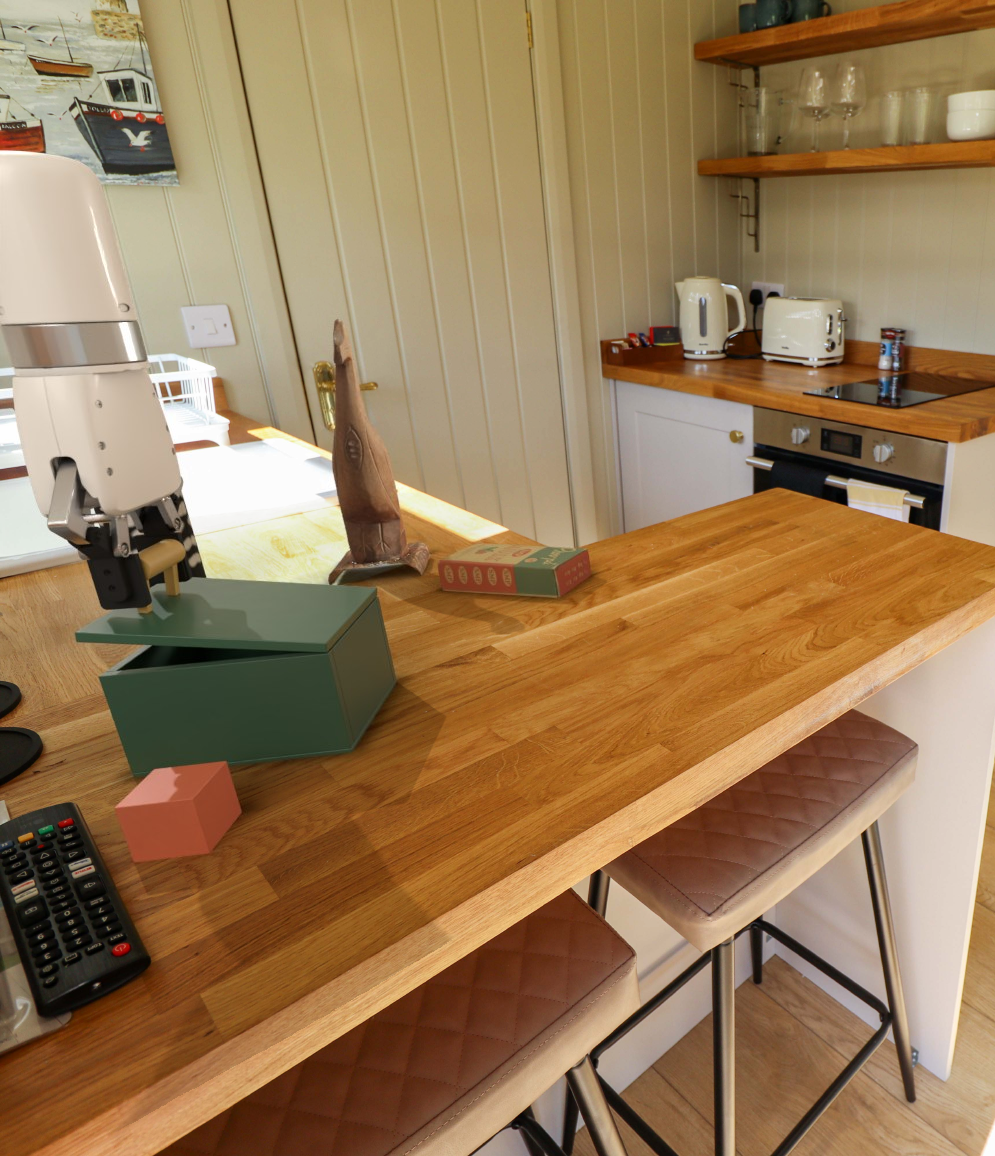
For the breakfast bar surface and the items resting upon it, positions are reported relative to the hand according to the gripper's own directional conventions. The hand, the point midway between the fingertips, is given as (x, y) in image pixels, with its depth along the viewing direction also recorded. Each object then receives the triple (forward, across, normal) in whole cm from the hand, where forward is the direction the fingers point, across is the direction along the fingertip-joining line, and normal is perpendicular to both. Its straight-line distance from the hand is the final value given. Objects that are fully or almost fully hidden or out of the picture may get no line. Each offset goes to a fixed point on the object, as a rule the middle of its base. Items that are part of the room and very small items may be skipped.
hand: (149, 591), depth 63 cm
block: (+13, +15, +7) cm, 21 cm away
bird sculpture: (+13, -43, +3) cm, 45 cm away
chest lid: (+3, 0, +6) cm, 7 cm away
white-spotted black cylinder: (+13, -35, -19) cm, 42 cm away
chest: (+13, 0, +7) cm, 15 cm away
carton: (+13, -32, +22) cm, 41 cm away
